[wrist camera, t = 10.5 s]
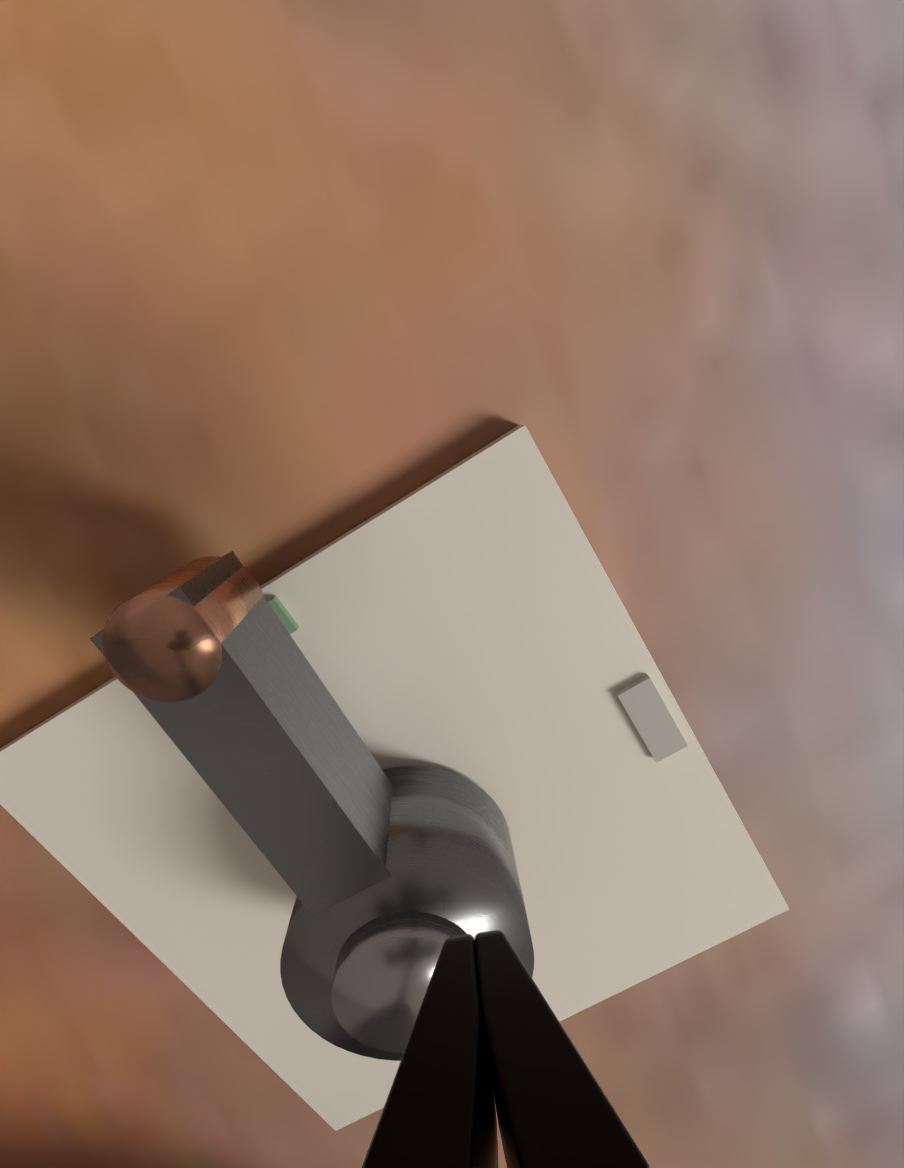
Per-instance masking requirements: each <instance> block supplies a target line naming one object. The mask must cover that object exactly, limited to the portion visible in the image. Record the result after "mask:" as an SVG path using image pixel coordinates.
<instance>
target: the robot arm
mask: <svg viewBox="0 0 904 1168" xmlns="http://www.w3.org/2000/svg"><path fill="white" fill-rule="evenodd" d="M494 1097H495V1099H494ZM495 1104H496V1109H495ZM496 1111H497V1118H498V1124H499V1129H500V1134H501V1140H502V1145H503V1150H504V1154H505V1159H506V1164H507V1168H649V1165H648V1163H647V1161H646V1160H645V1158H644V1157H643V1155H642V1153H641V1152H640V1150H639V1149H638V1147H637V1145H636V1144H635V1142H634V1140H633V1139H632V1137H631V1136H630V1134H629V1132H628V1131H627V1129H626V1128H625V1126H624V1124H623V1123H622V1121H621V1120H620V1118H619V1116H618V1115H617V1113H616V1112H615V1110H614V1108H613V1107H612V1105H611V1104H610V1102H609V1100H608V1099H607V1097H606V1096H605V1094H604V1092H603V1091H602V1089H601V1088H600V1086H599V1084H598V1083H597V1081H596V1080H595V1078H594V1076H593V1075H592V1073H591V1072H590V1070H589V1068H588V1067H587V1065H586V1064H585V1062H584V1060H583V1059H582V1057H581V1056H580V1054H579V1052H578V1051H577V1049H576V1048H575V1046H574V1044H573V1043H572V1041H571V1040H570V1038H569V1036H568V1035H567V1033H566V1032H565V1030H564V1028H563V1027H562V1025H561V1024H560V1022H559V1020H558V1019H557V1017H556V1016H555V1014H554V1012H553V1011H552V1009H551V1008H550V1006H549V1004H548V1003H547V1001H546V1000H545V998H544V996H543V995H542V993H541V992H540V990H539V988H538V987H537V985H536V984H535V982H534V980H533V979H532V977H531V976H530V974H529V972H528V971H527V969H526V968H525V966H524V964H523V963H522V961H521V959H520V958H519V956H518V955H517V953H516V951H515V950H514V948H513V947H512V945H511V943H510V942H509V940H508V939H507V937H506V935H505V934H504V933H503V932H502V931H500V930H494V931H487V932H480V933H477V934H476V936H475V940H474V937H473V936H472V935H470V934H467V935H460V936H453V937H449V938H447V939H446V940H445V942H444V944H443V947H442V949H441V952H440V955H439V958H438V960H437V963H436V966H435V969H434V971H433V974H432V977H431V980H430V982H429V985H428V988H427V991H426V993H425V996H424V999H423V1001H422V1004H421V1007H420V1010H419V1012H418V1015H417V1018H416V1021H415V1023H414V1026H413V1029H412V1032H411V1034H410V1037H409V1040H408V1043H407V1045H406V1048H405V1051H404V1053H403V1056H402V1059H401V1062H400V1064H399V1067H398V1070H397V1073H396V1075H395V1078H394V1081H393V1084H392V1086H391V1089H390V1092H389V1094H388V1097H387V1100H386V1103H385V1105H384V1108H383V1111H382V1114H381V1116H380V1119H379V1122H378V1125H377V1127H376V1130H375V1133H374V1136H373V1138H372V1141H371V1144H370V1146H369V1149H368V1152H367V1155H366V1157H365V1160H364V1163H363V1166H362V1168H498V1140H497V1120H496Z"/></svg>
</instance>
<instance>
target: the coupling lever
mask: <svg viewBox="0 0 904 1168" xmlns="http://www.w3.org/2000/svg"><path fill="white" fill-rule="evenodd" d="M90 639H91V640H92V642H93V643H94V644H95V645H96V647H97V648H98V649H99V650H100V652H101V653H102V654H103V655H104V657H105V659H106V662H107V664H108V666H109V668H110V670H111V671H112V673H113V674H114V675H115V677H116V678H117V679H118V680H119V681H120V682H121V683H122V684H123V685H124V686H125V687H127V688H128V689H129V690H131V691H132V692H133V693H134V694H135V695H136V696H137V698H138V699H139V700H140V701H141V703H142V704H143V705H144V706H145V708H146V709H147V710H148V711H149V713H150V714H151V715H152V716H153V718H154V719H155V720H156V721H157V723H158V724H159V725H160V726H161V728H162V729H163V730H164V731H165V733H166V734H167V735H168V736H169V738H170V739H171V740H172V741H173V742H174V744H175V745H176V746H177V747H178V749H179V750H180V751H181V752H182V754H183V755H184V756H185V757H186V759H187V760H188V761H189V762H190V764H191V765H192V766H193V767H194V769H195V770H196V771H197V772H198V774H199V775H200V776H201V777H202V779H203V780H204V781H205V782H206V784H207V785H208V786H209V787H210V789H211V790H212V791H213V792H214V794H215V795H216V796H217V797H218V799H219V800H220V801H221V802H222V804H223V805H224V806H225V807H226V808H227V810H228V811H229V812H230V813H231V815H232V816H233V817H234V818H235V820H236V821H237V822H238V823H239V825H240V826H241V827H242V828H243V830H244V831H245V832H246V833H247V835H248V836H249V837H250V838H251V840H252V841H253V842H254V843H255V845H256V846H257V847H258V848H259V850H260V851H261V852H262V853H263V855H264V856H265V857H266V858H267V860H268V861H269V862H270V863H271V865H272V866H273V867H274V868H275V870H276V871H277V872H278V873H279V874H280V876H281V877H282V878H283V879H284V881H285V882H286V883H287V884H288V886H289V887H290V888H291V889H292V891H293V892H294V893H295V894H296V898H295V902H294V906H293V910H292V914H291V917H290V921H289V925H288V929H287V932H286V936H285V940H284V944H283V948H282V953H281V959H280V974H281V980H282V986H283V989H284V991H285V994H286V997H287V999H288V1001H289V1003H290V1005H291V1007H292V1008H293V1010H294V1011H295V1013H296V1014H297V1015H298V1017H299V1018H300V1019H301V1020H302V1021H303V1022H304V1023H305V1024H306V1025H307V1026H308V1027H309V1028H310V1029H311V1030H312V1031H313V1032H315V1033H316V1034H317V1035H319V1036H320V1037H321V1038H323V1039H325V1040H326V1041H328V1042H330V1043H331V1044H333V1045H335V1046H337V1047H339V1048H342V1049H344V1050H346V1051H349V1052H352V1053H355V1054H358V1055H361V1056H366V1057H370V1058H375V1059H382V1060H391V1061H401V1059H402V1056H403V1053H404V1051H405V1048H406V1045H407V1043H408V1040H409V1037H410V1034H411V1032H412V1029H413V1026H414V1023H415V1021H416V1018H417V1015H418V1012H419V1010H420V1007H421V1004H422V1001H423V999H424V996H425V993H426V991H427V988H428V985H429V982H430V980H431V977H432V974H433V971H434V969H435V966H436V963H437V960H438V958H439V955H440V952H441V949H442V947H443V944H444V942H445V940H446V939H447V938H449V937H453V936H460V935H467V934H470V935H472V936H473V937H474V940H475V936H476V934H477V933H480V932H487V931H494V930H500V931H502V932H503V933H504V934H505V935H506V937H507V939H508V940H509V942H510V943H511V945H512V947H513V948H514V950H515V951H516V953H517V955H518V956H519V958H520V959H521V961H522V963H523V964H524V966H525V968H526V969H527V971H528V972H529V974H530V976H531V977H532V975H533V969H534V950H533V944H532V939H531V934H530V929H529V924H528V919H527V914H526V910H525V905H524V900H523V895H522V890H521V885H520V881H519V876H518V871H517V866H516V861H515V856H514V852H513V847H512V842H511V837H510V832H509V828H508V825H507V822H506V819H505V817H504V815H503V814H502V812H501V810H500V808H499V807H498V805H497V804H496V803H495V801H494V800H493V799H492V798H491V797H490V796H489V795H488V794H487V793H486V792H485V791H484V790H483V789H481V788H480V787H479V786H478V785H476V784H475V783H473V782H471V781H470V780H468V779H466V778H465V777H462V776H460V775H458V774H455V773H453V772H450V771H446V770H443V769H439V768H433V767H427V766H398V767H393V768H387V769H383V770H382V769H381V767H380V766H379V764H378V763H377V761H376V760H375V758H374V757H373V755H372V754H371V753H370V751H369V750H368V748H367V747H366V745H365V744H364V742H363V741H362V739H361V738H360V737H359V735H358V734H357V732H356V731H355V729H354V728H353V726H352V725H351V723H350V722H349V720H348V719H347V718H346V716H345V715H344V713H343V712H342V710H341V709H340V707H339V706H338V704H337V703H336V701H335V700H334V699H333V697H332V696H331V694H330V693H329V691H328V690H327V688H326V687H325V685H324V684H323V682H322V681H321V680H320V678H319V677H318V675H317V674H316V672H315V671H314V669H313V668H312V666H311V665H310V663H309V662H308V661H307V659H306V658H305V656H304V655H303V653H302V652H301V650H300V649H299V647H298V646H297V644H296V643H295V642H294V640H293V639H292V637H291V636H290V634H289V633H288V631H287V630H286V628H285V627H284V625H283V624H282V623H281V621H280V620H279V618H278V617H277V615H276V614H275V612H274V611H273V609H272V608H271V606H270V605H269V604H268V602H267V601H266V599H265V598H264V596H263V593H262V590H261V587H260V585H259V583H258V582H257V580H256V579H255V577H254V576H253V575H252V574H251V573H250V572H249V571H248V570H247V569H246V568H245V567H243V566H242V564H241V563H240V561H239V560H238V558H237V557H236V555H235V554H234V552H233V551H231V552H230V553H228V554H226V555H224V556H223V557H203V558H199V559H196V560H193V561H191V562H189V563H188V564H186V565H185V566H183V567H181V568H180V569H178V570H176V571H175V572H173V573H172V574H170V575H168V576H167V577H165V578H164V579H162V580H160V581H159V582H157V583H156V584H154V585H152V586H151V587H149V588H148V589H146V590H144V591H143V592H141V593H139V594H138V595H136V596H135V597H133V598H131V599H130V600H128V601H127V602H125V603H124V604H122V605H121V606H119V607H118V608H117V609H116V610H115V611H114V612H113V613H112V615H111V616H110V618H109V619H108V621H107V623H106V626H105V628H104V630H102V631H101V632H99V633H98V634H96V635H95V636H93V637H92V638H90Z"/></svg>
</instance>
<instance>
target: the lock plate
mask: <svg viewBox="0 0 904 1168" xmlns="http://www.w3.org/2000/svg"><path fill="white" fill-rule="evenodd" d="M260 587H261V590H262V593H263V596H264V598H265V599H266V601H267V602H268V604H269V605H270V606H271V608H272V609H273V611H274V612H275V614H276V615H277V617H278V618H279V620H280V621H281V623H282V624H283V625H284V627H285V628H286V630H287V631H288V633H289V634H290V636H291V637H292V639H293V640H294V642H295V643H296V644H297V646H298V647H299V649H300V650H301V652H302V653H303V655H304V656H305V658H306V659H307V661H308V662H309V663H310V665H311V666H312V668H313V669H314V671H315V672H316V674H317V675H318V677H319V678H320V680H321V681H322V682H323V684H324V685H325V687H326V688H327V690H328V691H329V693H330V694H331V696H332V697H333V699H334V700H335V701H336V703H337V704H338V706H339V707H340V709H341V710H342V712H343V713H344V715H345V716H346V718H347V719H348V720H349V722H350V723H351V725H352V726H353V728H354V729H355V731H356V732H357V734H358V735H359V737H360V738H361V739H362V741H363V742H364V744H365V745H366V747H367V748H368V750H369V751H370V753H371V754H372V755H373V757H374V758H375V760H376V761H377V763H378V764H379V766H380V767H381V769H382V770H383V769H387V768H393V767H398V766H427V767H433V768H439V769H443V770H446V771H450V772H453V773H455V774H458V775H460V776H462V777H465V778H466V779H468V780H470V781H471V782H473V783H475V784H476V785H478V786H479V787H480V788H481V789H483V790H484V791H485V792H486V793H487V794H488V795H489V796H490V797H491V798H492V799H493V800H494V801H495V803H496V804H497V805H498V807H499V808H500V810H501V812H502V814H503V815H504V817H505V819H506V822H507V825H508V828H509V832H510V837H511V842H512V847H513V852H514V856H515V861H516V866H517V871H518V876H519V881H520V885H521V890H522V895H523V900H524V905H525V910H526V914H527V919H528V924H529V929H530V934H531V939H532V944H533V950H534V969H533V975H532V979H533V980H534V982H535V984H536V985H537V987H538V988H539V990H540V992H541V993H542V995H543V996H544V998H545V1000H546V1001H547V1003H548V1004H549V1006H550V1008H551V1009H552V1011H553V1012H554V1014H555V1016H556V1017H557V1019H558V1020H559V1022H560V1021H562V1020H564V1019H566V1018H568V1017H570V1016H572V1015H574V1014H576V1013H578V1012H580V1011H582V1010H584V1009H586V1008H588V1007H590V1006H592V1005H594V1004H596V1003H598V1002H600V1001H602V1000H605V999H607V998H609V997H611V996H613V995H615V994H617V993H619V992H621V991H623V990H625V989H627V988H629V987H631V986H633V985H635V984H637V983H639V982H641V981H643V980H645V979H647V978H650V977H652V976H654V975H656V974H658V973H660V972H662V971H664V970H666V969H668V968H670V967H672V966H674V965H676V964H678V963H680V962H682V961H684V960H686V959H688V958H690V957H692V956H695V955H697V954H699V953H701V952H703V951H705V950H707V949H709V948H711V947H713V946H715V945H717V944H719V943H721V942H723V941H725V940H727V939H729V938H731V937H733V936H735V935H737V934H740V933H742V932H744V931H746V930H748V929H750V928H752V927H754V926H756V925H758V924H760V923H762V922H764V921H766V920H768V919H770V918H772V917H774V916H776V915H778V914H780V913H782V912H785V911H787V910H789V907H788V906H787V904H786V902H785V900H784V898H783V896H782V895H781V893H780V891H779V889H778V887H777V885H776V884H775V882H774V880H773V878H772V876H771V874H770V873H769V871H768V869H767V867H766V865H765V863H764V862H763V860H762V858H761V856H760V854H759V852H758V851H757V849H756V847H755V845H754V843H753V841H752V840H751V838H750V836H749V834H748V832H747V831H746V829H745V827H744V825H743V823H742V821H741V820H740V818H739V816H738V814H737V812H736V810H735V809H734V807H733V805H732V803H731V801H730V799H729V798H728V796H727V794H726V792H725V790H724V788H723V787H722V785H721V783H720V781H719V779H718V777H717V776H716V774H715V772H714V770H713V768H712V766H711V765H710V763H709V761H708V759H707V757H706V755H705V754H704V752H703V750H702V748H701V746H700V745H699V743H698V741H697V739H696V737H695V735H694V734H693V732H692V730H691V728H690V726H689V724H688V723H687V721H686V719H685V717H684V715H683V713H682V712H681V710H680V708H679V706H678V704H677V702H676V701H675V699H674V697H673V695H672V693H671V691H670V690H669V688H668V686H667V684H666V682H665V680H664V679H663V677H662V675H661V673H660V671H659V669H658V668H657V666H656V664H655V662H654V660H653V659H652V657H651V655H650V653H649V651H648V649H647V648H646V646H645V644H644V642H643V640H642V638H641V637H640V635H639V633H638V631H637V629H636V627H635V626H634V624H633V622H632V620H631V618H630V616H629V615H628V613H627V611H626V609H625V607H624V605H623V604H622V602H621V600H620V598H619V596H618V594H617V593H616V591H615V589H614V587H613V585H612V583H611V582H610V580H609V578H608V576H607V574H606V573H605V571H604V569H603V567H602V565H601V563H600V562H599V560H598V558H597V556H596V554H595V552H594V551H593V549H592V547H591V545H590V543H589V541H588V540H587V538H586V536H585V534H584V532H583V530H582V529H581V527H580V525H579V523H578V521H577V519H576V518H575V516H574V514H573V512H572V510H571V508H570V507H569V505H568V503H567V501H566V499H565V497H564V496H563V494H562V492H561V490H560V488H559V487H558V485H557V483H556V481H555V479H554V477H553V476H552V474H551V472H550V470H549V468H548V466H547V465H546V463H545V461H544V459H543V457H542V455H541V454H540V452H539V450H538V448H537V446H536V444H535V443H534V441H533V439H532V437H531V435H530V433H529V432H528V430H527V428H526V426H525V425H518V426H516V427H515V428H513V429H512V430H510V431H508V432H507V433H505V434H504V435H502V436H500V437H499V438H497V439H495V440H494V441H492V442H491V443H489V444H487V445H486V446H484V447H483V448H481V449H479V450H478V451H476V452H475V453H473V454H471V455H470V456H468V457H467V458H465V459H463V460H462V461H460V462H459V463H457V464H455V465H454V466H452V467H451V468H449V469H447V470H446V471H444V472H443V473H441V474H439V475H438V476H436V477H435V478H433V479H431V480H430V481H428V482H426V483H425V484H423V485H422V486H420V487H418V488H417V489H415V490H414V491H412V492H410V493H409V494H407V495H406V496H404V497H402V498H401V499H399V500H398V501H396V502H394V503H393V504H391V505H390V506H388V507H386V508H385V509H383V510H382V511H380V512H378V513H377V514H375V515H374V516H372V517H370V518H369V519H367V520H365V521H364V522H362V523H361V524H359V525H357V526H356V527H354V528H353V529H351V530H349V531H348V532H346V533H345V534H343V535H341V536H340V537H338V538H337V539H335V540H333V541H332V542H330V543H329V544H327V545H325V546H324V547H322V548H321V549H319V550H317V551H316V552H314V553H313V554H311V555H309V556H308V557H306V558H305V559H303V560H301V561H300V562H298V563H296V564H295V565H293V566H292V567H290V568H288V569H287V570H285V571H284V572H282V573H280V574H279V575H277V576H276V577H274V578H272V579H271V580H269V581H268V582H266V583H264V584H263V585H261V586H260ZM0 804H1V805H2V806H3V807H4V808H5V809H6V810H7V811H8V812H9V813H10V814H11V815H12V816H13V817H14V818H15V819H16V820H17V821H18V822H19V823H20V824H21V825H22V826H23V827H24V828H25V829H26V830H27V831H28V832H29V833H30V834H31V835H32V836H33V837H34V838H35V839H36V840H37V841H39V842H40V843H41V844H42V845H43V846H44V847H45V848H46V849H47V850H48V851H49V852H50V853H51V854H52V855H53V856H54V857H55V858H56V859H57V860H58V861H59V862H60V863H61V864H62V865H63V866H64V867H65V868H66V869H67V870H68V871H69V872H70V873H71V874H72V875H73V876H74V877H75V878H76V879H78V880H79V881H80V882H81V883H82V884H83V885H84V886H85V887H86V888H87V889H88V890H89V891H90V892H91V893H92V894H93V895H94V896H95V897H96V898H97V899H98V900H99V901H100V902H101V903H102V904H103V905H104V906H105V907H106V908H107V909H108V910H109V911H110V912H111V913H112V914H113V915H114V916H115V917H117V918H118V919H119V920H120V921H121V922H122V923H123V924H124V925H125V926H126V927H127V928H128V929H129V930H130V931H131V932H132V933H133V934H134V935H135V936H136V937H137V938H138V939H139V940H140V941H141V942H142V943H143V944H144V945H145V946H146V947H147V948H148V949H149V950H150V951H151V952H152V953H153V954H154V955H156V956H157V957H158V958H159V959H160V960H161V961H162V962H163V963H164V964H165V965H166V966H167V967H168V968H169V969H170V970H171V971H172V972H173V973H174V974H175V975H176V976H177V977H178V978H179V979H180V980H181V981H182V982H183V983H184V984H185V985H186V986H187V987H188V988H189V989H190V990H191V991H192V992H194V993H195V994H196V995H197V996H198V997H199V998H200V999H201V1000H202V1001H203V1002H204V1003H205V1004H206V1005H207V1006H208V1007H209V1008H210V1009H211V1010H212V1011H213V1012H214V1013H215V1014H216V1015H217V1016H218V1017H219V1018H220V1019H221V1020H222V1021H223V1022H224V1023H225V1024H226V1025H227V1026H228V1027H229V1028H230V1029H231V1030H233V1031H234V1032H235V1033H236V1034H237V1035H238V1036H239V1037H240V1038H241V1039H242V1040H243V1041H244V1042H245V1043H246V1044H247V1045H248V1046H249V1047H250V1048H251V1049H252V1050H253V1051H254V1052H255V1053H256V1054H257V1055H258V1056H259V1057H260V1058H261V1059H262V1060H263V1061H264V1062H265V1063H266V1064H267V1065H268V1066H269V1067H270V1068H272V1069H273V1070H274V1071H275V1072H276V1073H277V1074H278V1075H279V1076H280V1077H281V1078H282V1079H283V1080H284V1081H285V1082H286V1083H287V1084H288V1085H289V1086H290V1087H291V1088H292V1089H293V1090H294V1091H295V1092H296V1093H297V1094H298V1095H299V1096H300V1097H301V1098H302V1099H303V1100H304V1101H305V1102H306V1103H307V1104H308V1105H309V1106H311V1107H312V1108H313V1109H314V1110H315V1111H316V1112H317V1113H318V1114H319V1115H320V1116H321V1117H322V1118H323V1119H324V1120H325V1121H326V1122H327V1123H328V1124H329V1125H330V1126H331V1127H332V1128H333V1129H334V1130H335V1131H337V1130H339V1129H341V1128H343V1127H345V1126H347V1125H349V1124H351V1123H353V1122H355V1121H357V1120H359V1119H361V1118H363V1117H365V1116H367V1115H369V1114H371V1113H373V1112H375V1111H377V1110H379V1109H382V1108H384V1105H385V1103H386V1100H387V1097H388V1094H389V1092H390V1089H391V1086H392V1084H393V1081H394V1078H395V1075H396V1073H397V1070H398V1067H399V1064H400V1062H401V1061H391V1060H382V1059H375V1058H370V1057H366V1056H361V1055H358V1054H355V1053H352V1052H349V1051H346V1050H344V1049H342V1048H339V1047H337V1046H335V1045H333V1044H331V1043H330V1042H328V1041H326V1040H325V1039H323V1038H321V1037H320V1036H319V1035H317V1034H316V1033H315V1032H313V1031H312V1030H311V1029H310V1028H309V1027H308V1026H307V1025H306V1024H305V1023H304V1022H303V1021H302V1020H301V1019H300V1018H299V1017H298V1015H297V1014H296V1013H295V1011H294V1010H293V1008H292V1007H291V1005H290V1003H289V1001H288V999H287V997H286V994H285V991H284V989H283V986H282V980H281V974H280V959H281V953H282V948H283V944H284V940H285V936H286V932H287V929H288V925H289V921H290V917H291V914H292V910H293V906H294V902H295V898H296V894H295V893H294V892H293V891H292V889H291V888H290V887H289V886H288V884H287V883H286V882H285V881H284V879H283V878H282V877H281V876H280V874H279V873H278V872H277V871H276V870H275V868H274V867H273V866H272V865H271V863H270V862H269V861H268V860H267V858H266V857H265V856H264V855H263V853H262V852H261V851H260V850H259V848H258V847H257V846H256V845H255V843H254V842H253V841H252V840H251V838H250V837H249V836H248V835H247V833H246V832H245V831H244V830H243V828H242V827H241V826H240V825H239V823H238V822H237V821H236V820H235V818H234V817H233V816H232V815H231V813H230V812H229V811H228V810H227V808H226V807H225V806H224V805H223V804H222V802H221V801H220V800H219V799H218V797H217V796H216V795H215V794H214V792H213V791H212V790H211V789H210V787H209V786H208V785H207V784H206V782H205V781H204V780H203V779H202V777H201V776H200V775H199V774H198V772H197V771H196V770H195V769H194V767H193V766H192V765H191V764H190V762H189V761H188V760H187V759H186V757H185V756H184V755H183V754H182V752H181V751H180V750H179V749H178V747H177V746H176V745H175V744H174V742H173V741H172V740H171V739H170V738H169V736H168V735H167V734H166V733H165V731H164V730H163V729H162V728H161V726H160V725H159V724H158V723H157V721H156V720H155V719H154V718H153V716H152V715H151V714H150V713H149V711H148V710H147V709H146V708H145V706H144V705H143V704H142V703H141V701H140V700H139V699H138V698H137V696H136V695H135V694H134V693H133V692H132V691H131V690H129V689H128V688H127V687H125V686H124V685H123V684H122V683H121V682H120V681H119V680H118V679H117V678H116V677H114V678H112V679H110V680H109V681H107V682H106V683H104V684H102V685H101V686H99V687H97V688H96V689H94V690H93V691H91V692H89V693H88V694H86V695H85V696H83V697H81V698H80V699H78V700H77V701H75V702H73V703H72V704H70V705H69V706H67V707H65V708H64V709H62V710H61V711H59V712H57V713H56V714H54V715H53V716H51V717H49V718H48V719H46V720H45V721H43V722H41V723H40V724H38V725H36V726H35V727H33V728H32V729H30V730H28V731H27V732H25V733H24V734H22V735H20V736H19V737H17V738H16V739H14V740H12V741H11V742H9V743H8V744H6V745H4V746H3V747H1V748H0Z"/></svg>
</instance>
